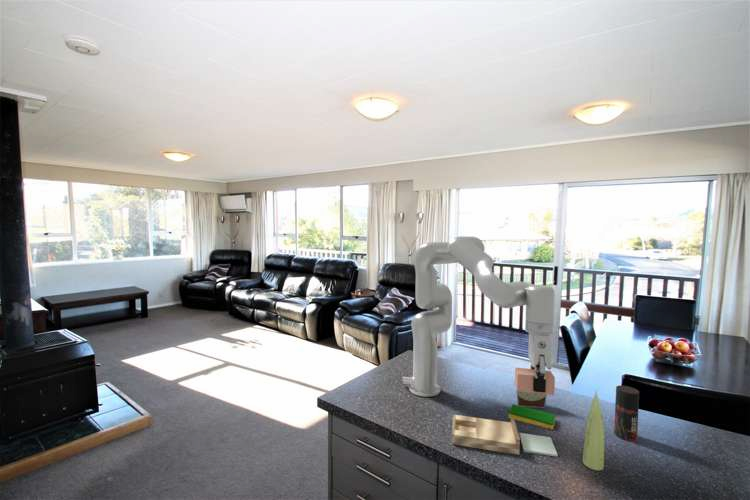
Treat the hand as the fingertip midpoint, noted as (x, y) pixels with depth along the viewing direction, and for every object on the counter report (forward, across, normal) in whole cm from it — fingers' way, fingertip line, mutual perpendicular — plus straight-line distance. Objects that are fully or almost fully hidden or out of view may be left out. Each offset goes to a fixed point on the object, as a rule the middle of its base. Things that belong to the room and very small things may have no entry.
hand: (537, 386), depth 105 cm
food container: (+18, +28, -2) cm, 34 cm away
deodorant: (+18, +14, -28) cm, 36 cm away
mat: (+18, 0, -1) cm, 18 cm away
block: (-2, 0, +1) cm, 2 cm away
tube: (+18, -6, -14) cm, 23 cm away
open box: (+18, 0, +15) cm, 23 cm away
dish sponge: (+18, +16, -1) cm, 25 cm away
